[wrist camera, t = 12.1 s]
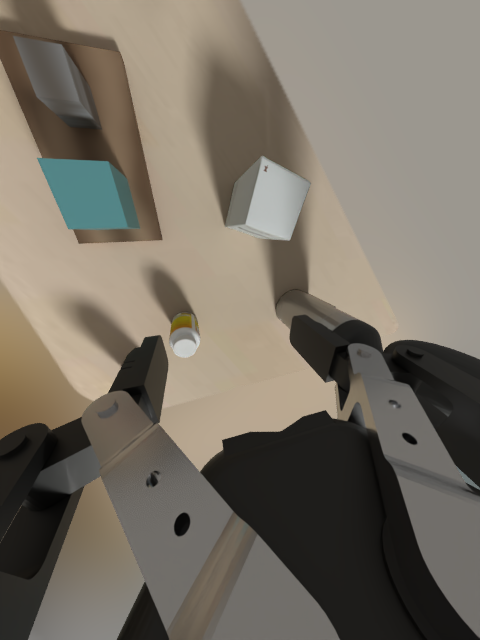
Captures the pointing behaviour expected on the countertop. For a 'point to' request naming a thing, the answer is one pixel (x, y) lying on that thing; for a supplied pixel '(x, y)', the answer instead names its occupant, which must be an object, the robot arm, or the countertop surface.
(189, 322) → the supplement bottle
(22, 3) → the countertop surface
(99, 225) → the teal block
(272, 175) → the supplement box
